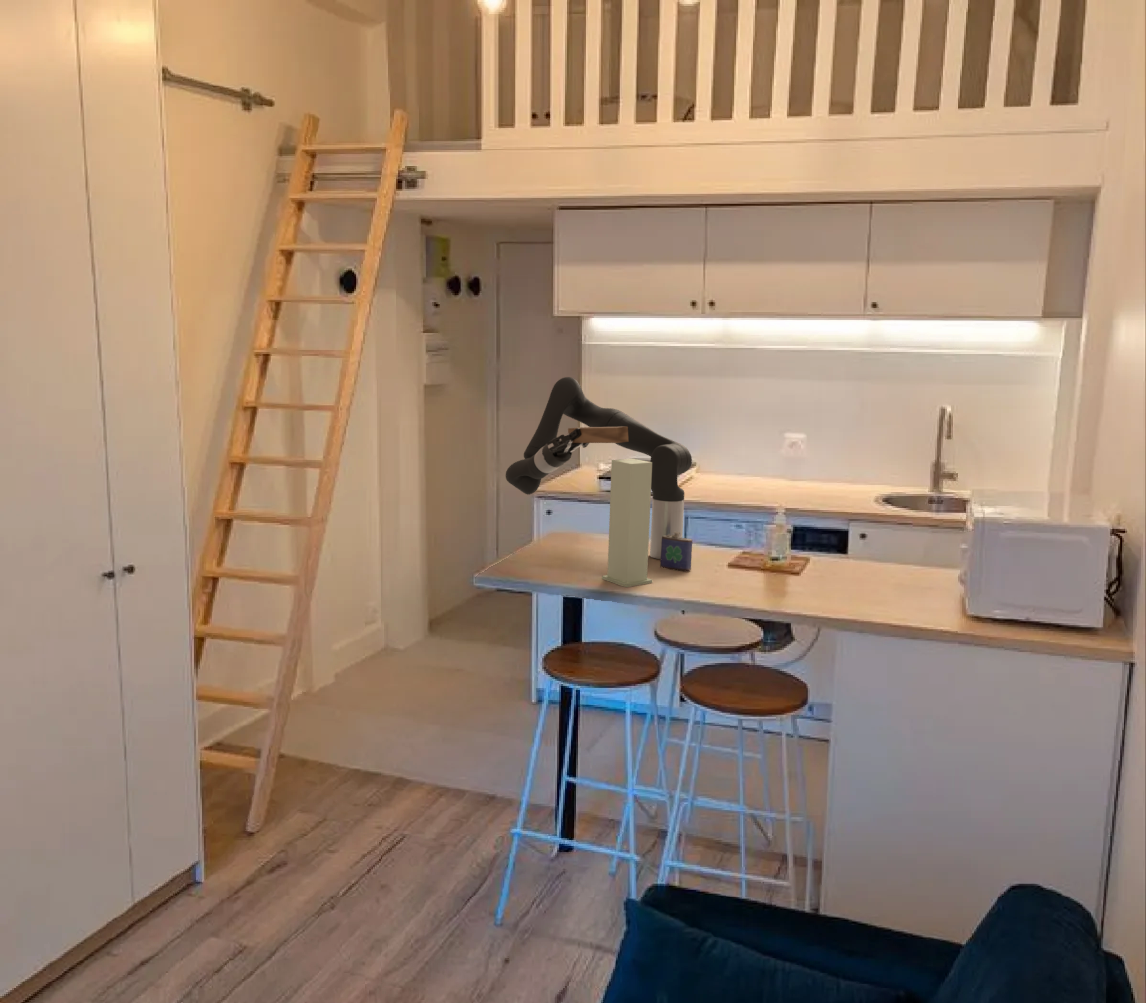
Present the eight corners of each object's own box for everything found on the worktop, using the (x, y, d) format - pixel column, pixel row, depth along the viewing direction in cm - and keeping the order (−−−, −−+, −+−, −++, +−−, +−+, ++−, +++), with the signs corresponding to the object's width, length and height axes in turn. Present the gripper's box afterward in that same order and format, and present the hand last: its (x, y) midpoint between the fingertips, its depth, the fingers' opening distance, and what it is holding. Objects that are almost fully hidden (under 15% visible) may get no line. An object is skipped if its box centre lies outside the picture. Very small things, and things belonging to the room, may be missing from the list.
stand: (627, 574, 276) (632, 457, 270) (652, 582, 268) (657, 462, 262) (602, 578, 270) (606, 459, 265) (626, 587, 262) (631, 464, 257)
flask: (692, 570, 283) (694, 532, 281) (688, 572, 280) (689, 534, 279) (662, 565, 287) (663, 528, 286) (657, 567, 285) (659, 530, 283)
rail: (580, 441, 284) (579, 427, 284) (628, 441, 269) (627, 426, 268) (569, 442, 282) (568, 428, 281) (617, 442, 266) (616, 427, 266)
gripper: (575, 465, 295) (610, 440, 282) (537, 470, 286) (570, 445, 273) (567, 441, 296) (601, 416, 284) (528, 446, 287) (561, 419, 275)
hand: (585, 430), depth 278 cm, fingers closed on rail, 4 cm apart
